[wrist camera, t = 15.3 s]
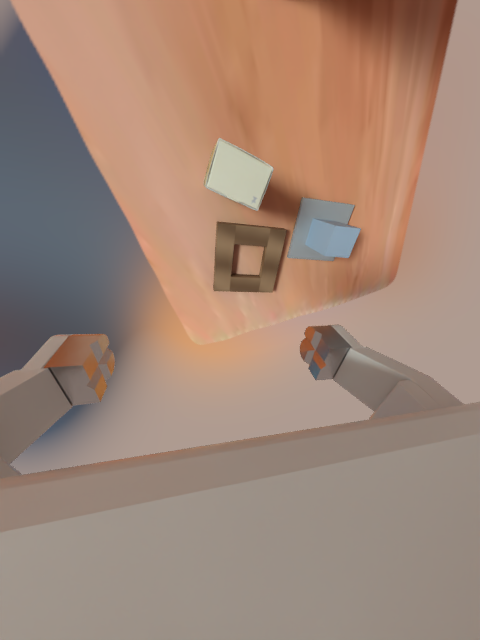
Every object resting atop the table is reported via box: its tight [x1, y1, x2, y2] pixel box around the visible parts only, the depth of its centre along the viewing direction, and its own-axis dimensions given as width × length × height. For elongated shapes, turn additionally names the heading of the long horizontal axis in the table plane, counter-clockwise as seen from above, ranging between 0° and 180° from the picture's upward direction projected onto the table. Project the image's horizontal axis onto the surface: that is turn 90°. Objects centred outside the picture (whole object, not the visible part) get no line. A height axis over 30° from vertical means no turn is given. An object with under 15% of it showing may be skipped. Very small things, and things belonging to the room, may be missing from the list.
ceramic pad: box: [287, 197, 355, 261], centre depth 37 cm, size 10×10×1 cm
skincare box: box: [204, 138, 273, 211], centre depth 25 cm, size 6×4×12 cm
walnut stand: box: [213, 222, 287, 292], centre depth 37 cm, size 12×12×2 cm
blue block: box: [305, 218, 361, 258], centre depth 34 cm, size 4×4×7 cm
